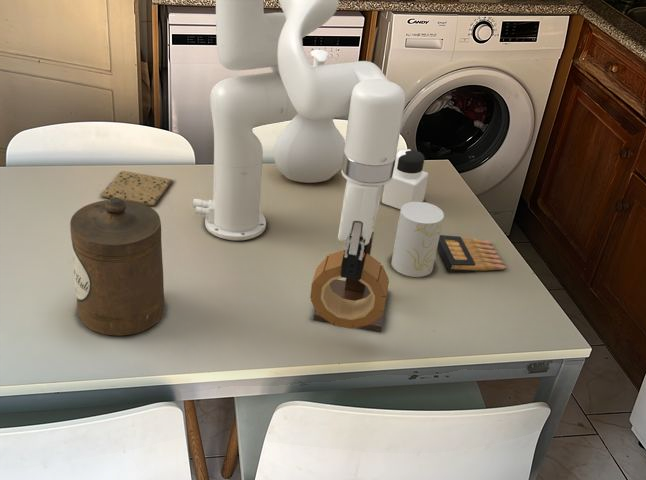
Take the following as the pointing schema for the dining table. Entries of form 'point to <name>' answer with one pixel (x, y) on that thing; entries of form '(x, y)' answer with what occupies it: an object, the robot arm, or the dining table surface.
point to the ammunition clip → (468, 254)
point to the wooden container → (118, 266)
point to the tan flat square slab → (137, 188)
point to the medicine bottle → (406, 180)
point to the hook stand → (354, 294)
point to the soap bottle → (310, 145)
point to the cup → (417, 238)
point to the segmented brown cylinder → (343, 309)
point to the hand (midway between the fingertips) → (353, 267)
